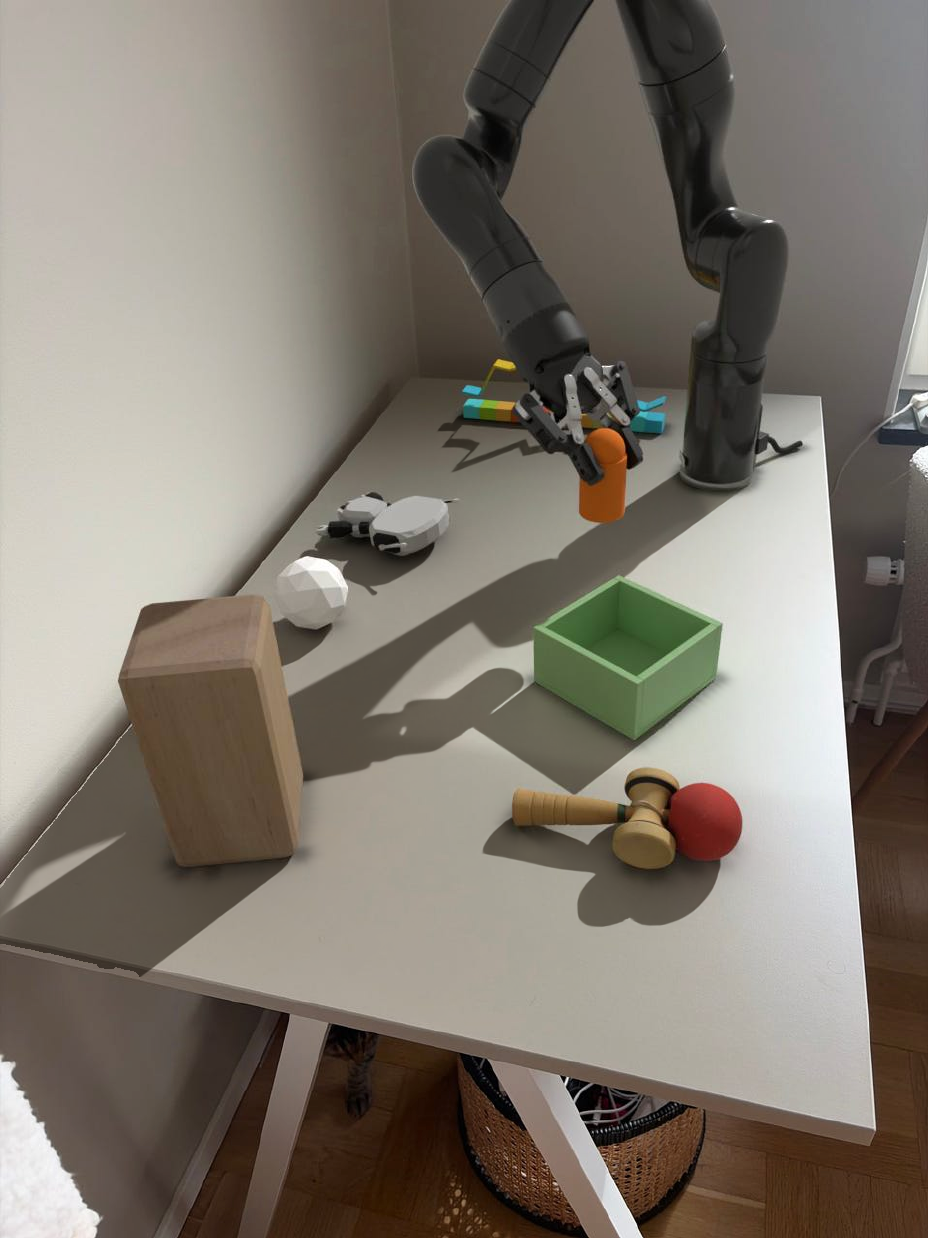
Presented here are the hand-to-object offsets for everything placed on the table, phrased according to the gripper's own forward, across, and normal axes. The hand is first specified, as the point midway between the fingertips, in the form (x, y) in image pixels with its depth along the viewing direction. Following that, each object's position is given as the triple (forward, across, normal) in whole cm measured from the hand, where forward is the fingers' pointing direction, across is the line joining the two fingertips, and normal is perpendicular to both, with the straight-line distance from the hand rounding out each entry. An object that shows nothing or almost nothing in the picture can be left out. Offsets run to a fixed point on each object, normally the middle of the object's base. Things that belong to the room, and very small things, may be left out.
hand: (616, 472), depth 95 cm
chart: (-17, +31, +42) cm, 55 cm away
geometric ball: (-2, -24, +27) cm, 37 cm away
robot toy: (-9, -8, +34) cm, 36 cm away
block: (+13, -44, +11) cm, 48 cm away
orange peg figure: (+2, 0, +5) cm, 5 cm away
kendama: (+29, -21, -4) cm, 36 cm away
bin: (+18, -7, +6) cm, 20 cm away
